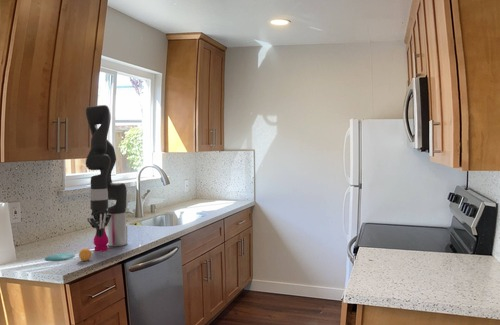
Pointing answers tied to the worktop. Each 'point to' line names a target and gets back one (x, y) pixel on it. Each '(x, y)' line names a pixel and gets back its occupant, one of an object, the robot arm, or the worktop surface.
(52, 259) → the disc
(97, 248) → the pepper mill
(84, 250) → the ball
